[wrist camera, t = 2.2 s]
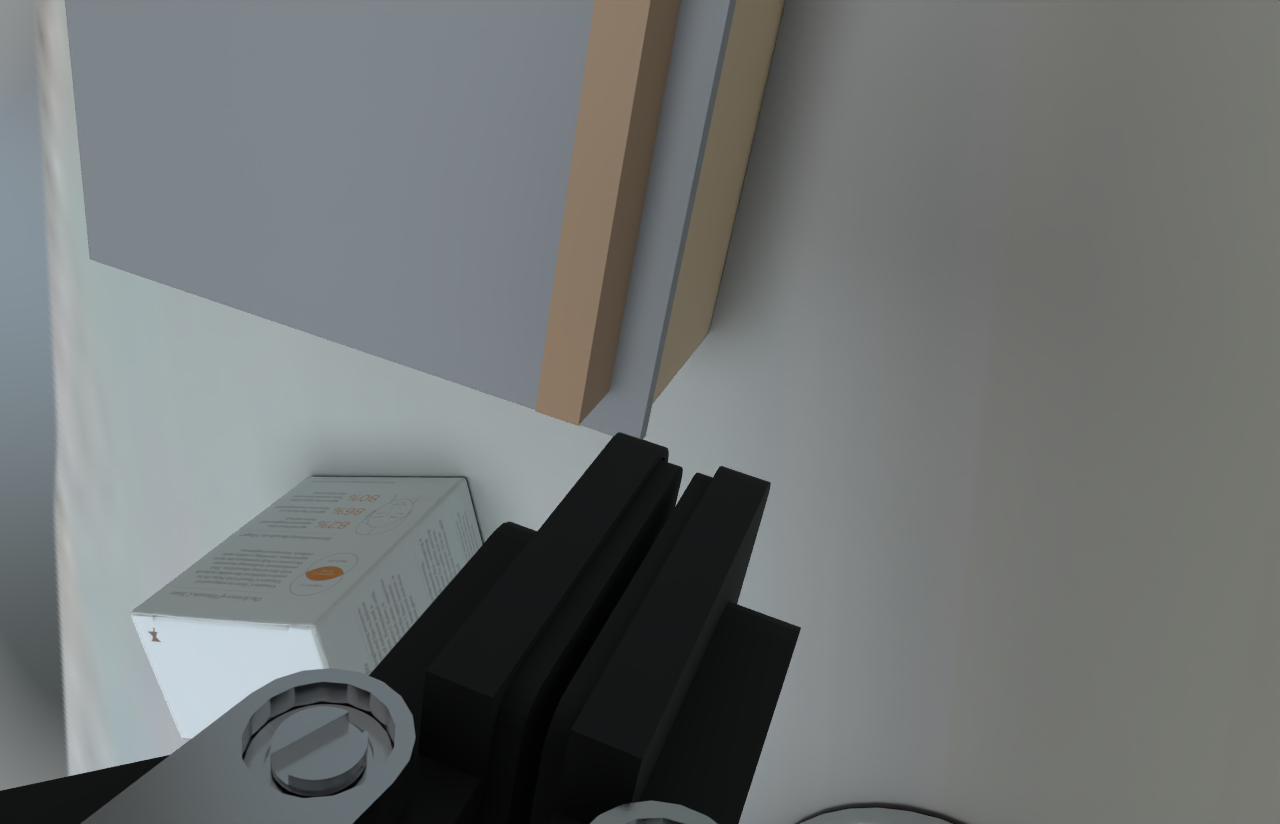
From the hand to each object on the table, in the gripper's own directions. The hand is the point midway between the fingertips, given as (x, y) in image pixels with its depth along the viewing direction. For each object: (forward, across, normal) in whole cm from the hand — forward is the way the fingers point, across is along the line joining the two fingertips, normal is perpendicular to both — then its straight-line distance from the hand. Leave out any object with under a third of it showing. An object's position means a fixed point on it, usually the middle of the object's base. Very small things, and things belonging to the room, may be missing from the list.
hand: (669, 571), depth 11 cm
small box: (+23, +15, +20) cm, 34 cm away
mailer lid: (+15, +13, 0) cm, 20 cm away
